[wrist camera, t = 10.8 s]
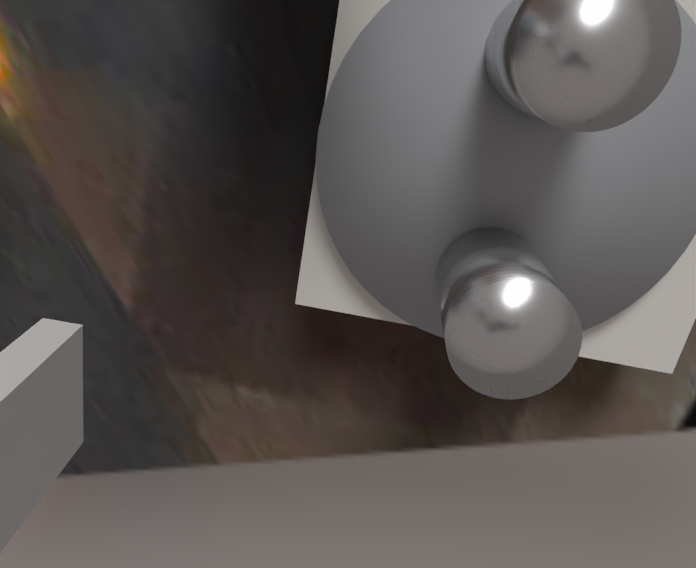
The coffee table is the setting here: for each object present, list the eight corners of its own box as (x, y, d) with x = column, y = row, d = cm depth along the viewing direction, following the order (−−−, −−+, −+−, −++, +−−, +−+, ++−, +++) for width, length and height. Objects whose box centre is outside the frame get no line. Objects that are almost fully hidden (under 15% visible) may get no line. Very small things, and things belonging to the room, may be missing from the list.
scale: (307, 278, 36) (290, 319, 30) (359, -66, 29) (350, -95, 24) (633, 338, 36) (677, 391, 30) (762, 5, 29) (848, -7, 23)
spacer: (447, 218, 28) (463, 268, 21) (552, 237, 28) (600, 293, 21) (425, 314, 30) (433, 386, 23) (524, 332, 30) (559, 409, 23)
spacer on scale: (472, 102, 26) (497, 117, 19) (501, -25, 24) (540, -55, 18) (585, 122, 26) (647, 144, 19) (623, -3, 24) (707, -25, 18)
